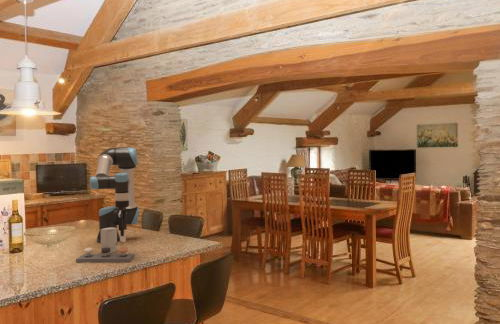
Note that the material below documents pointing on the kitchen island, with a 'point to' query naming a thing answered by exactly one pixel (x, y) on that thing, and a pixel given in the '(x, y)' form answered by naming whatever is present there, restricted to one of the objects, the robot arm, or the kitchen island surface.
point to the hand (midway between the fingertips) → (123, 241)
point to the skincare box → (109, 239)
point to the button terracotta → (123, 251)
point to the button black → (105, 251)
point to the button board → (105, 258)
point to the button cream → (88, 251)
